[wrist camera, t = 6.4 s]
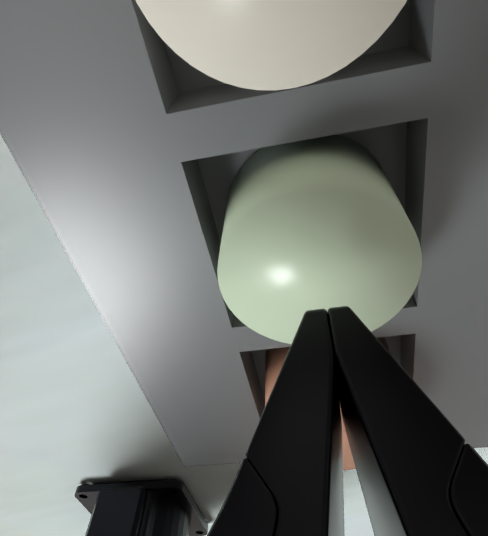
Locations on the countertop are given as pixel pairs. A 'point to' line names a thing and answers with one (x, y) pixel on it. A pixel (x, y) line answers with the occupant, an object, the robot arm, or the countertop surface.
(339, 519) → the robot arm
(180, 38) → the cream button
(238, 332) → the panel
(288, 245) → the sage button
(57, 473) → the countertop surface
